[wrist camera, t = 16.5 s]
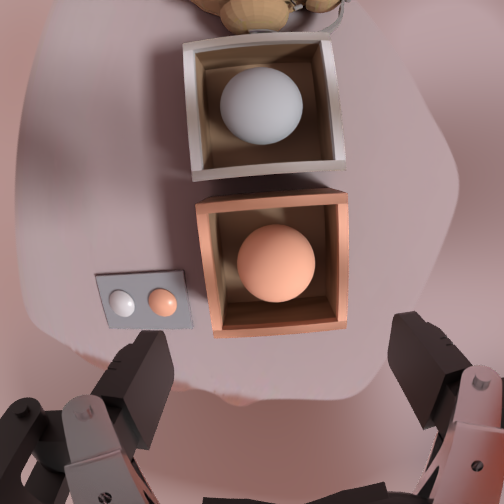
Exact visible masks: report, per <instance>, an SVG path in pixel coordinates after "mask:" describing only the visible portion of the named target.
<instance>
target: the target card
mask: <svg viewBox="0 0 504 504" xmlns="http://www.w3.org/2000/svg"><path fill="white" fill-rule="evenodd" d="M96 280H97V284H98V288H99V292H100V296H101V300H102V304H103V307H104V311H105V314H106V318H107V321H108V325H109V328H112V329H193V327H194V326H193V321H192V316H191V310H190V305H189V299H188V294H187V288H186V282H185V276H184V270H179V271H163V272H146V273H130V274H112V275H97V276H96Z"/></svg>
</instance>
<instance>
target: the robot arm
mask: <svg viewBox="0 0 504 504" xmlns="http://www.w3.org/2000/svg"><path fill="white" fill-rule="evenodd" d="M112 361H113V362H111V363H110V365H109V366H108V370H106V371H105V372H104V374H103V375H102V377H101V378H100V380H99V382H98V383H97V385H96V386H95V388H94V389H93V391H92V392H91V394H90V395H81V396H78V397H75V398H73V399H72V400H70V401H69V402H68V403H67V404H66V405H65V406H64V408H63V410H56V411H44V410H43V408H42V407H41V405H40V403H39V402H38V401H37V400H36V399H34V398H22V399H19V400H17V401H15V402H14V403H13V404H11V405H10V406H9V408H8V409H7V410H6V412H5V413H4V415H3V416H2V417H1V419H0V504H65V502H66V500H67V497H68V495H69V492H70V493H71V497H72V500H73V503H74V504H160V503H159V501H158V500H157V498H156V496H155V495H154V493H153V491H152V489H151V487H150V486H149V484H148V482H147V480H146V478H145V476H144V475H143V473H142V471H141V469H140V467H139V465H138V463H137V461H136V459H135V457H134V453H135V450H136V448H138V449H144V450H149V449H150V446H151V443H152V440H153V437H154V434H155V431H156V429H157V426H158V423H159V420H160V417H161V414H162V412H163V409H164V406H165V403H166V401H167V398H168V395H169V392H170V390H171V387H172V384H173V381H174V367H173V363H172V359H171V355H170V352H169V348H168V344H167V340H166V336H165V334H164V332H163V331H156V330H142V331H141V332H140V333H139V335H138V336H137V338H136V339H135V341H134V342H133V344H128V345H126V346H125V347H124V348H122V349H121V350H120V351H119V352H118V353H117V354H116V356H115V357H114V359H113V360H112ZM388 362H389V366H390V368H391V370H392V371H393V373H394V375H395V377H396V379H397V381H398V382H399V384H400V386H401V388H402V390H403V392H404V394H405V395H406V397H407V399H408V401H409V403H410V405H411V407H412V409H413V411H414V413H415V415H416V416H417V418H418V420H419V422H420V424H421V426H422V428H423V430H425V429H428V428H431V427H434V426H436V427H437V429H438V431H437V433H436V436H435V438H434V441H433V445H432V447H431V450H430V453H429V456H428V459H427V462H426V464H425V467H424V470H423V472H422V475H421V478H420V479H419V482H418V484H417V485H416V487H415V489H414V491H413V493H412V494H411V493H405V492H393V491H391V492H390V491H389V492H387V489H386V486H385V482H381V483H377V484H372V485H368V486H364V487H359V488H354V489H349V490H343V491H340V492H338V493H335V494H333V495H329V496H327V497H324V498H321V499H318V500H315V501H312V502H309V503H306V504H499V502H500V497H501V493H502V487H503V481H504V378H501V377H500V376H499V374H498V373H497V372H496V371H495V370H493V369H492V368H490V367H487V366H483V365H474V366H473V365H472V364H471V363H470V362H469V361H468V359H467V358H466V357H465V356H464V355H463V354H462V353H461V351H459V349H458V348H457V347H456V346H455V345H453V342H451V340H450V339H449V338H447V336H446V335H445V334H444V333H443V331H441V329H440V328H438V327H436V326H434V325H432V324H431V323H429V322H427V323H426V322H425V321H424V320H423V319H422V318H421V316H420V315H418V313H417V312H415V311H411V312H405V313H398V314H395V315H394V317H393V321H392V328H391V334H390V340H389V346H388ZM31 454H32V455H33V456H34V457H35V458H36V460H37V462H36V465H35V466H34V468H33V470H32V472H31V474H30V476H29V478H28V480H27V482H26V484H25V486H23V485H22V482H21V472H22V470H23V468H24V466H25V464H26V463H27V461H28V459H29V457H30V455H31ZM202 504H274V503H268V502H261V501H256V500H251V499H226V498H207V497H203V503H202Z"/></svg>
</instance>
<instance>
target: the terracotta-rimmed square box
mask: <svg viewBox="0 0 504 504" xmlns="http://www.w3.org/2000/svg"><path fill="white" fill-rule="evenodd" d="M195 208H196V217H197V225H198V233H199V241H200V249H201V256H202V263H203V270H204V277H205V284H206V291H207V298H208V304H209V310H210V317H211V323H212V329H213V335H214V338H238V337H257V336H272V335H286V334H298V333H309V332H319V331H329V330H338V329H346V327H347V308H348V278H349V222H348V193H345V192H342V191H339V190H336V189H332V188H317V189H299V190H283V191H269V192H257V193H245V194H233V195H223V196H213V197H208V198H206V199H204V200H202V201H200V202H199V203H197V204H195ZM272 224H280V225H286V226H289V227H292V228H294V229H296V230H297V231H299V232H300V233H301V234H302V235H303V236H304V237H305V238H306V239H307V240H308V242H309V243H310V245H311V247H312V250H313V252H314V257H315V270H314V274H313V277H312V279H311V282H310V283H309V285H308V286H307V288H306V289H305V290H304V291H303V292H302V293H301V294H299V295H298V296H297V297H295V298H293V299H290V300H288V301H284V302H268V301H264V300H261V299H259V298H257V297H256V296H254V295H253V294H251V293H250V292H249V291H248V290H247V289H246V288H245V286H244V285H243V283H242V281H241V279H240V277H239V274H238V269H237V258H238V253H239V250H240V247H241V246H242V244H243V242H244V241H245V239H246V238H247V237H248V236H249V235H250V234H251V233H252V232H254V231H255V230H257V229H258V228H261V227H263V226H267V225H272Z"/></svg>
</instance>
